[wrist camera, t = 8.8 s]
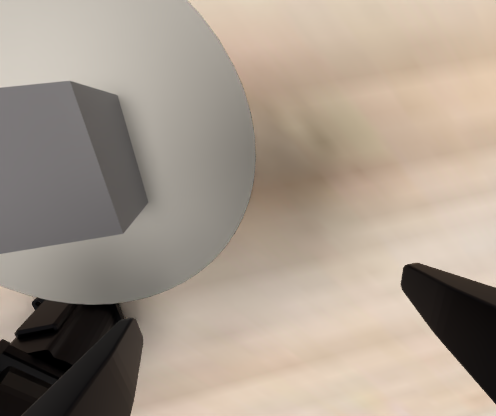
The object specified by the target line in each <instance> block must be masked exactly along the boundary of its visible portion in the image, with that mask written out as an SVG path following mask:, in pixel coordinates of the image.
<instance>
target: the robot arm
mask: <svg viewBox="0 0 496 416" xmlns="http://www.w3.org/2000/svg"><path fill="white" fill-rule="evenodd" d="M401 287H402V290H403V292H404V293H405V294H406V296H407V297H408V298H409V300H410V301H411V303H412V304H413V305H414V307H415V308H416V309H417V311H418V312H419V313H420V315H421V316H422V318H423V319H424V320H425V322H426V323H427V324H428V326H429V327H430V328H431V330H432V331H433V332H434V333H435V335H436V336H437V337H438V338H439V339H440V341H441V342H442V343H443V344H444V345H445V346H446V348H447V349H448V350H449V351H450V352H451V353H452V354H453V356H454V357H455V358H456V359H457V360H458V361H459V362H460V364H461V365H462V366H463V367H464V368H465V369H466V371H467V372H468V373H469V374H470V375H471V376H472V377H473V379H474V380H475V381H476V382H477V383H478V384H479V385H480V387H481V388H482V389H483V390H484V391H485V392H486V394H487V395H488V396H489V397H490V398H491V399H492V400H493V402H494V403H495V404H496V288H495V287H491V286H488V285H485V284H482V283H479V282H476V281H473V280H470V279H467V278H464V277H460V276H457V275H454V274H451V273H448V272H445V271H442V270H439V269H436V268H432V267H429V266H426V265H423V264H420V263H412V264H407V265H405V266H404V268H403V273H402V280H401ZM40 302H41V303H40ZM32 305H33V307H34V309H35V311H34V312H33V313H32V315H31V316H30V317H29V318H28V319H27V320H26V321H25V322H24V323H23V324H22V325H21V326H20V327H19V328H18V329H17V331H16V332H15V336H16V338H15V339H14V340H13V341H12V342H11V343H10V342H8V341H6V340H4V339H2V340H1V341H0V416H130V414H131V410H132V406H133V402H134V397H135V391H136V385H137V379H138V372H139V366H140V360H141V354H142V347H143V336H142V333H141V331H140V328H139V326H138V323H137V321H136V319H135V318H127V319H124V317H123V315H122V312H121V310H120V307H119V305H118V303H115V304H96V305H89V304H71V303H64V302H58V301H51V300H46V299H42V298H38V297H37V298H36V299H35V300H34V301H33V302H32Z"/></svg>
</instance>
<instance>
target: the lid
mask: <svg viewBox="0 0 496 416" xmlns="http://www.w3.org/2000/svg"><path fill="white" fill-rule="evenodd" d="M255 162H256V154H255V135H254V129H253V123H252V117H251V112H250V109H249V105H248V102H247V98H246V95H245V92H244V89H243V86H242V84H241V82H240V79H239V77H238V75H237V72H236V70H235V68H234V65H233V63H232V62H231V60H230V58H229V56H228V55H227V53H226V51H225V49H224V48H223V46H222V44H221V42H220V41H219V39H218V38H217V36H216V35H215V34H214V32H213V31H212V29H211V28H210V27H209V25H208V24H207V23H206V21H205V20H204V19H203V17H202V16H201V15H200V13H199V12H198V11H197V10H196V9H195V8H194V7H193V6H192V5H191V4H190V3H189V2H188V0H0V286H3V287H5V288H8V289H11V290H14V291H17V292H20V293H23V294H26V295H30V296H34V297H38V298H42V299H46V300H51V301H58V302H64V303H71V304H89V305H96V304H115V303H122V302H129V301H135V300H139V299H143V298H147V297H151V296H153V295H156V294H159V293H162V292H164V291H167V290H169V289H171V288H173V287H175V286H177V285H179V284H181V283H183V282H185V281H187V280H188V279H190V278H191V277H193V276H194V275H196V274H197V273H199V272H200V271H201V270H202V269H204V268H205V267H206V266H207V265H208V264H209V263H211V262H212V261H213V260H214V259H215V258H216V257H217V255H218V254H219V253H220V252H221V251H222V250H223V249H224V248H225V246H226V245H227V244H228V242H229V241H230V239H231V238H232V236H233V235H234V234H235V232H236V230H237V228H238V226H239V224H240V222H241V220H242V218H243V216H244V213H245V211H246V208H247V205H248V202H249V200H250V195H251V191H252V186H253V182H254V173H255Z"/></svg>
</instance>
